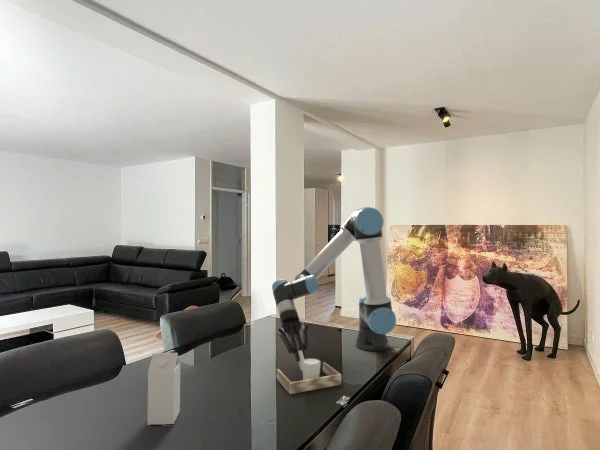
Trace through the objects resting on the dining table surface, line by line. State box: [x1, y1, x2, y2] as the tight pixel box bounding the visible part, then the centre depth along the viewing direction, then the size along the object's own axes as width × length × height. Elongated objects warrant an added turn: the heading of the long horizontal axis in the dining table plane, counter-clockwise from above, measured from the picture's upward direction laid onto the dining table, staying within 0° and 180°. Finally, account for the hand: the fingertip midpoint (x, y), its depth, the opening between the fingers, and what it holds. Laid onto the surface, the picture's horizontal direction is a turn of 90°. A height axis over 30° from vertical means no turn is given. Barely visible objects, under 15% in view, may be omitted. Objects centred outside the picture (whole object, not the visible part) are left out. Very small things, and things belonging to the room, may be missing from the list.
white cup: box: [302, 357, 322, 380], centre depth 131 cm, size 7×7×7 cm
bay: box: [276, 361, 342, 395], centre depth 131 cm, size 20×13×4 cm
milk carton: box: [147, 352, 181, 426], centre depth 104 cm, size 7×7×19 cm
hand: (303, 368), depth 134 cm, fingers closed
